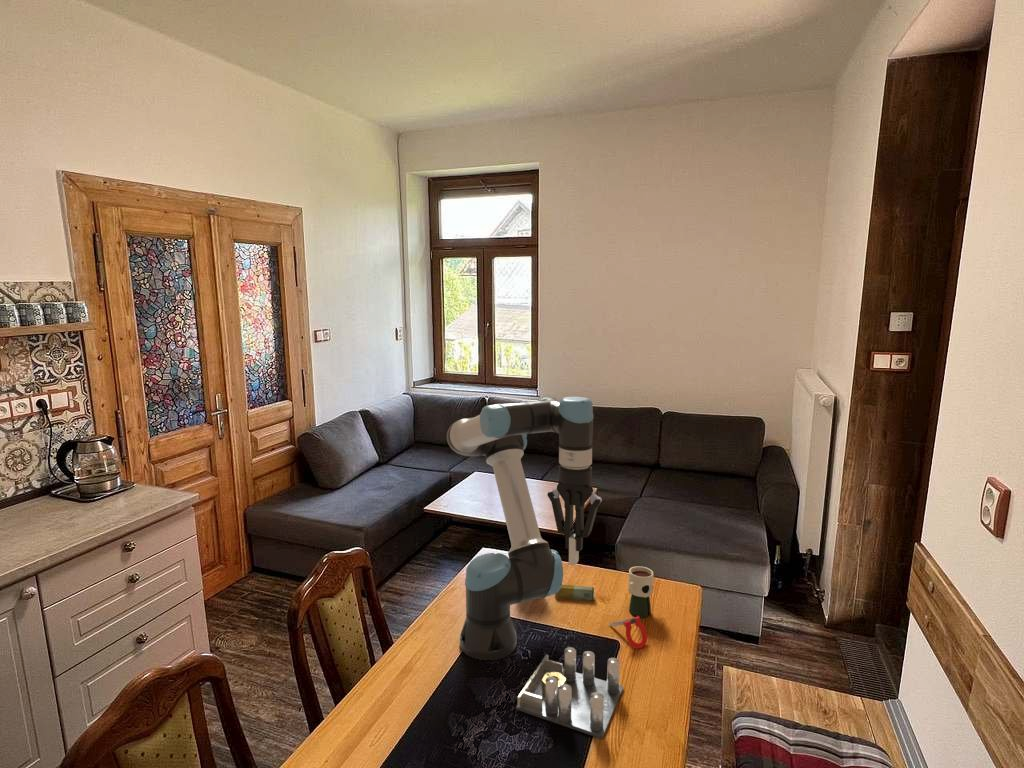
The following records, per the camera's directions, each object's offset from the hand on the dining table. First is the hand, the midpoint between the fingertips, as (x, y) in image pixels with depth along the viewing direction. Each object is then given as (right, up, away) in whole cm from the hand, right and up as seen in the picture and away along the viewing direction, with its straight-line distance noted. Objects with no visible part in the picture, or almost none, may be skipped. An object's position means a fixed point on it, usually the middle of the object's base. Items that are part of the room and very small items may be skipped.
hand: (573, 562), depth 131 cm
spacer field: (-1, -31, -2) cm, 31 cm away
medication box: (+5, -25, +42) cm, 49 cm away
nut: (-5, -30, 0) cm, 30 cm away
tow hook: (+18, -30, +21) cm, 41 cm away
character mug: (+23, -26, +34) cm, 49 cm away
